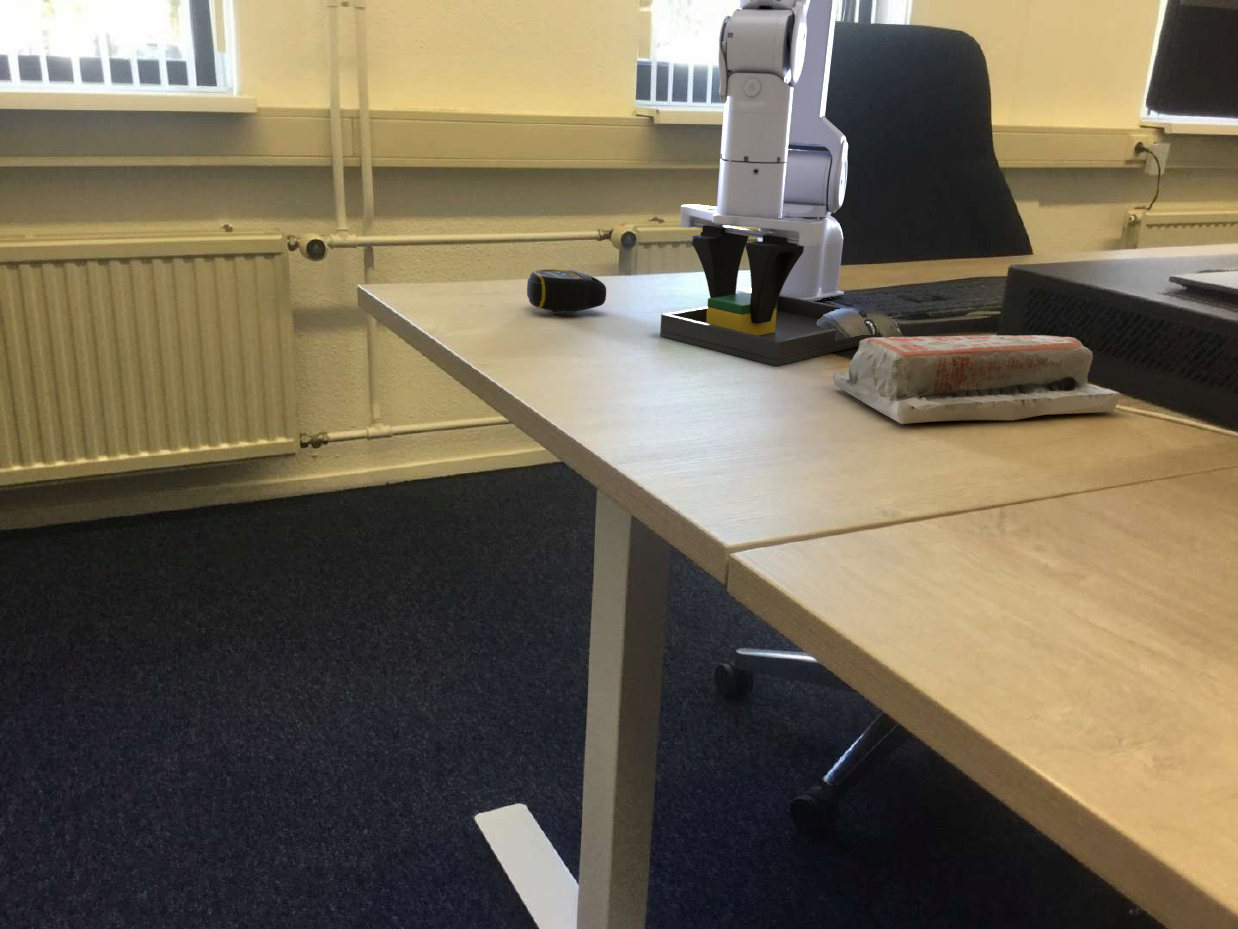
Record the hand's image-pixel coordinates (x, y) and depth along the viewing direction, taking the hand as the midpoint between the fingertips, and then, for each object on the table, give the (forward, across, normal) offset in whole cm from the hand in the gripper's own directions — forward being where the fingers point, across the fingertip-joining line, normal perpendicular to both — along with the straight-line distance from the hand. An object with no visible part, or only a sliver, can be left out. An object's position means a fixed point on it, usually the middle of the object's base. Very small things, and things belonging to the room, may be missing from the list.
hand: (741, 317), depth 94 cm
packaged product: (+2, +24, -2) cm, 24 cm away
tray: (+2, +2, +3) cm, 4 cm away
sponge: (+1, 0, 0) cm, 1 cm away
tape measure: (+2, -18, -5) cm, 19 cm away
